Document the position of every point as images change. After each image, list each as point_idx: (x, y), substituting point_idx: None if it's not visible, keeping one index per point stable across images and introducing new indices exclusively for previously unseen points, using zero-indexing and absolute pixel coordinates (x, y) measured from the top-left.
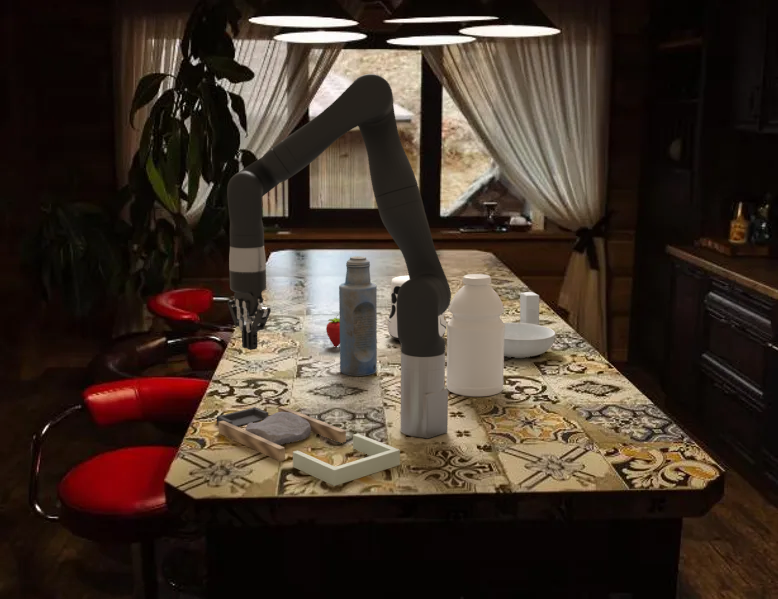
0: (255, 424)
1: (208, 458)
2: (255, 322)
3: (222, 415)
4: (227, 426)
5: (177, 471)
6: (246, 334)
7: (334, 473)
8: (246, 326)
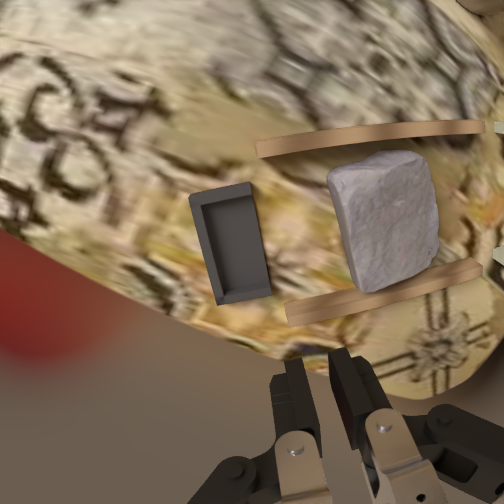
0: (375, 276)
1: (389, 355)
2: (469, 474)
3: (216, 292)
4: (325, 318)
5: (398, 393)
6: (350, 442)
7: None
8: (367, 479)
